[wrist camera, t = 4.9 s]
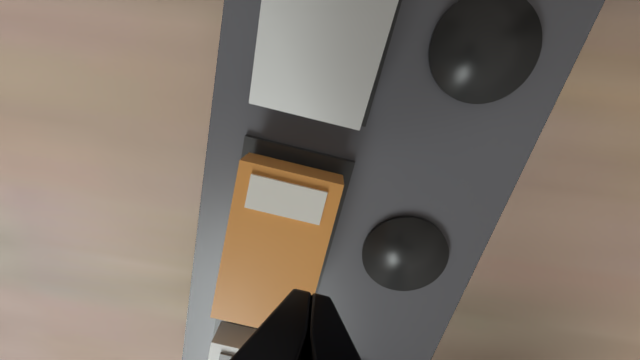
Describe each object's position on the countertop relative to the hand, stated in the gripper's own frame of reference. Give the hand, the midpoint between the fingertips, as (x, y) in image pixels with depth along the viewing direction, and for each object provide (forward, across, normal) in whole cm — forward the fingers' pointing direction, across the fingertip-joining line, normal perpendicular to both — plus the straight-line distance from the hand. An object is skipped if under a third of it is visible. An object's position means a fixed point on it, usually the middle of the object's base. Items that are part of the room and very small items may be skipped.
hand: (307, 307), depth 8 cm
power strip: (+8, -1, +1) cm, 8 cm away
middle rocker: (+4, +1, +1) cm, 4 cm away
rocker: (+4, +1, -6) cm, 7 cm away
